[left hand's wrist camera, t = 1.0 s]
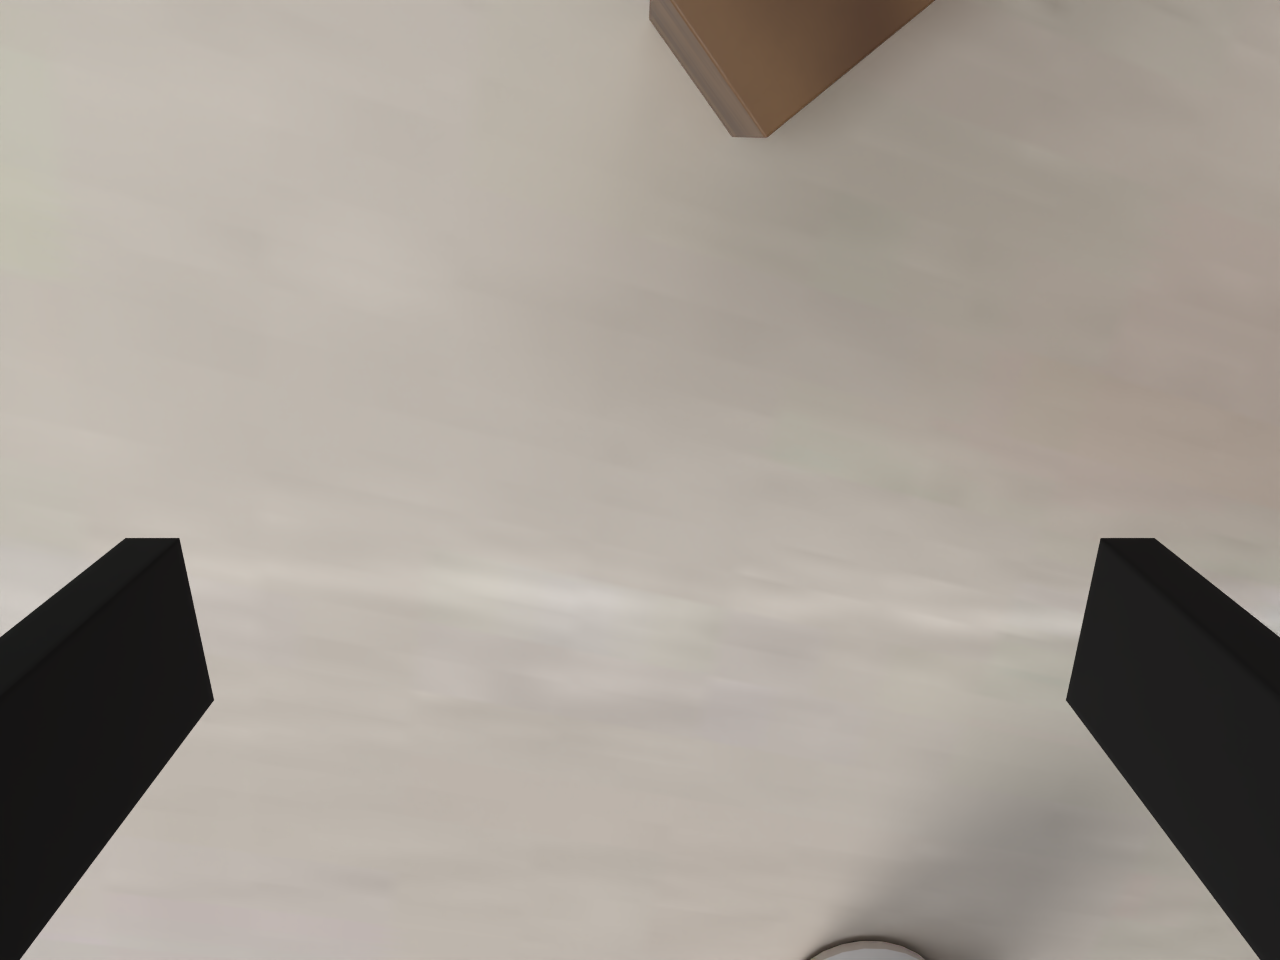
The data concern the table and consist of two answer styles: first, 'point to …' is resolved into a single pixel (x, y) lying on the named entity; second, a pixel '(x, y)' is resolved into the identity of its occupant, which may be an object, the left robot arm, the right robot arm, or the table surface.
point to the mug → (868, 952)
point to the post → (773, 50)
